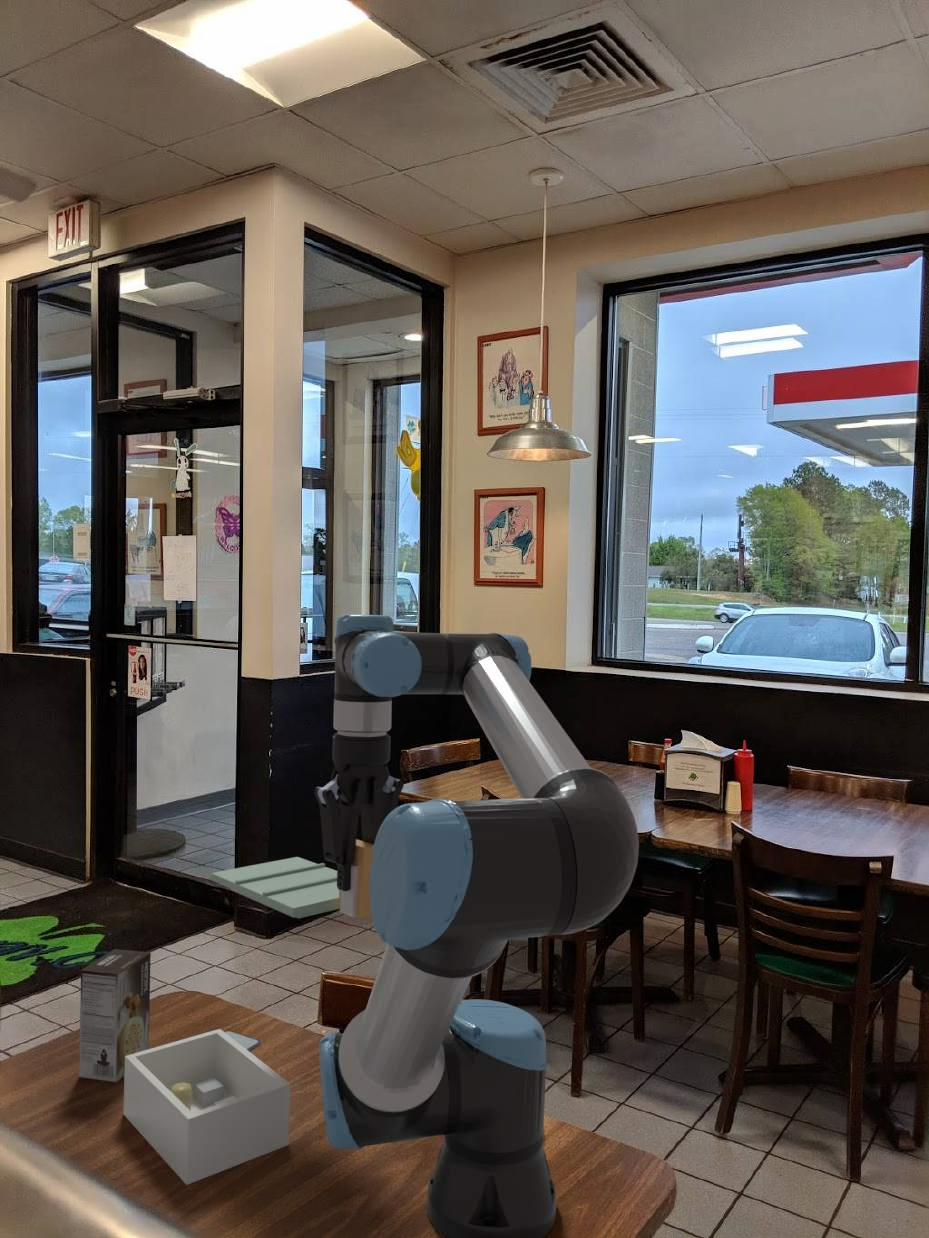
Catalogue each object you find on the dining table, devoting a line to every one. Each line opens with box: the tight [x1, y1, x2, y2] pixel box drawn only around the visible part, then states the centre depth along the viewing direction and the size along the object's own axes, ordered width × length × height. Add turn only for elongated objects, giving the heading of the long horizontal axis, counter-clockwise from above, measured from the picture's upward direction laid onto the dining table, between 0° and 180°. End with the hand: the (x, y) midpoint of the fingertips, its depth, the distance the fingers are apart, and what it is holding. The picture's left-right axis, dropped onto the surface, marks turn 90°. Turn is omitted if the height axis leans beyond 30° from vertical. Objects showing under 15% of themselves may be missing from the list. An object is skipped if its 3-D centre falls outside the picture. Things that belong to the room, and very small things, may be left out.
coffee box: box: [78, 948, 152, 1083], centre depth 143 cm, size 9×6×16 cm
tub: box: [123, 1028, 291, 1186], centre depth 127 cm, size 20×14×8 cm
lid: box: [210, 838, 374, 919], centre depth 133 cm, size 27×15×10 cm, turn 44°
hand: (357, 911), depth 125 cm, fingers closed on lid, 2 cm apart
